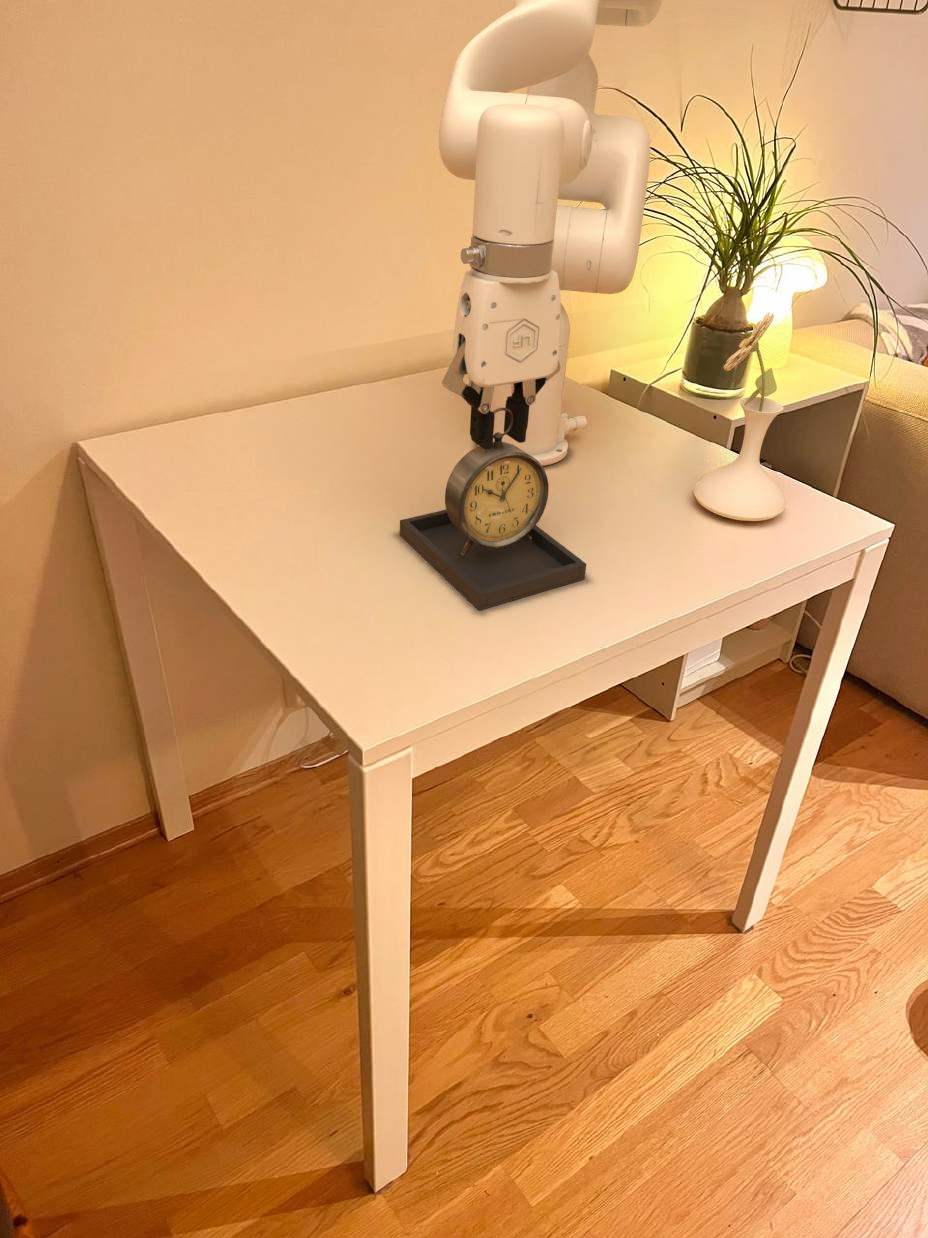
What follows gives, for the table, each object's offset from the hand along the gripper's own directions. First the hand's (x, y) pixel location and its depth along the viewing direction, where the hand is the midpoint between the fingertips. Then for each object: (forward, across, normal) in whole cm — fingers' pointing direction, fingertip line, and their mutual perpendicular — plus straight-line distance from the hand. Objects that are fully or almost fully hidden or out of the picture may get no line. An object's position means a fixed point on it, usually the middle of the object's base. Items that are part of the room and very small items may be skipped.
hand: (498, 439), depth 95 cm
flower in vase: (+14, +34, -4) cm, 37 cm away
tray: (+14, 0, 0) cm, 14 cm away
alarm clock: (+13, 0, 0) cm, 13 cm away
